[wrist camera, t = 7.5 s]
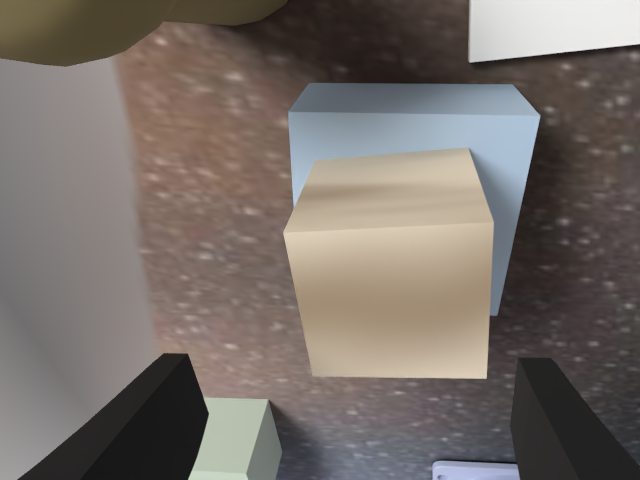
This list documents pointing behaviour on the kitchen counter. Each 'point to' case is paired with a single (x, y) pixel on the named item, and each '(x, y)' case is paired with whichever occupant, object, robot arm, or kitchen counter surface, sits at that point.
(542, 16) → the tile
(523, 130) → the blue base block
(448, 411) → the kitchen counter surface
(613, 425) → the kitchen counter surface
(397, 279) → the birch block
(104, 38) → the cork
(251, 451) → the sage green block
